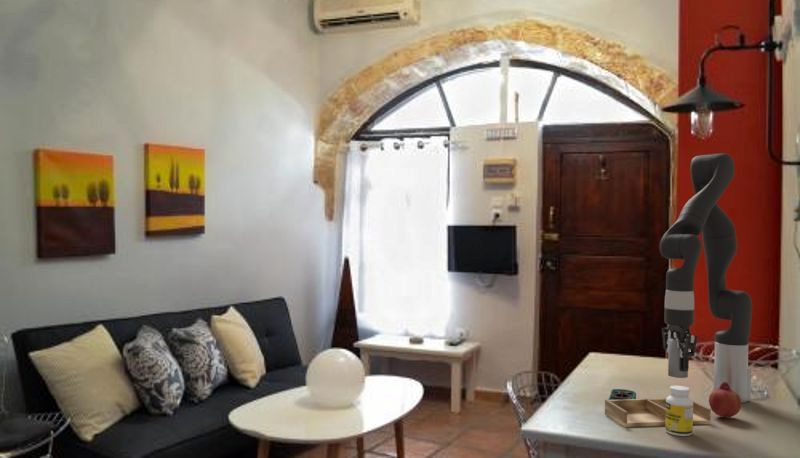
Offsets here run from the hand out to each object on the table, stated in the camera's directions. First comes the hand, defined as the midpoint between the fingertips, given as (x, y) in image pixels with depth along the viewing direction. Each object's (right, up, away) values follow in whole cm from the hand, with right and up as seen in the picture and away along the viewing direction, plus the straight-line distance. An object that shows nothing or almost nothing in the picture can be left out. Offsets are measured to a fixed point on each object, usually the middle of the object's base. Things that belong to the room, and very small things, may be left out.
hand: (678, 368), depth 185 cm
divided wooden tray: (-6, -14, 0) cm, 15 cm away
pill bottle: (-5, -14, -12) cm, 19 cm away
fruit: (+13, -14, +2) cm, 20 cm away
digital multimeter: (-10, -14, +16) cm, 24 cm away
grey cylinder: (0, -2, 0) cm, 2 cm away
